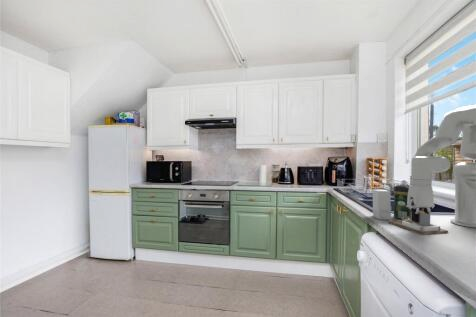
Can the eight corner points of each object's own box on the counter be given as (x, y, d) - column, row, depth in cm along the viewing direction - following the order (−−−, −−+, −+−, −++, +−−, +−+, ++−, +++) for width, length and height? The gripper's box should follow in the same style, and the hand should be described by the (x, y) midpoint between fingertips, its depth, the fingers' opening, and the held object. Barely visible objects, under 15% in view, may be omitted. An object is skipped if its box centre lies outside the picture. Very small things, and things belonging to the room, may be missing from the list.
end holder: (419, 223, 113) (419, 220, 113) (440, 230, 103) (440, 226, 103) (401, 224, 111) (401, 221, 111) (421, 231, 101) (421, 227, 101)
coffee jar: (396, 214, 134) (397, 183, 134) (413, 217, 128) (414, 184, 128) (391, 217, 128) (392, 184, 127) (408, 220, 122) (409, 186, 121)
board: (411, 221, 121) (411, 214, 120) (448, 232, 103) (448, 225, 103) (388, 222, 118) (388, 215, 118) (422, 234, 100) (422, 226, 100)
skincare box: (391, 220, 123) (391, 191, 123) (377, 219, 124) (377, 190, 124) (384, 216, 131) (384, 189, 131) (371, 215, 132) (372, 188, 132)
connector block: (419, 221, 110) (419, 209, 110) (430, 224, 105) (430, 212, 105) (410, 222, 109) (411, 210, 109) (420, 225, 104) (421, 212, 104)
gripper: (428, 181, 112) (427, 218, 112) (398, 182, 109) (397, 220, 109) (444, 183, 105) (443, 223, 105) (413, 184, 102) (412, 224, 102)
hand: (420, 221), depth 107 cm, fingers closed on connector block, 5 cm apart
